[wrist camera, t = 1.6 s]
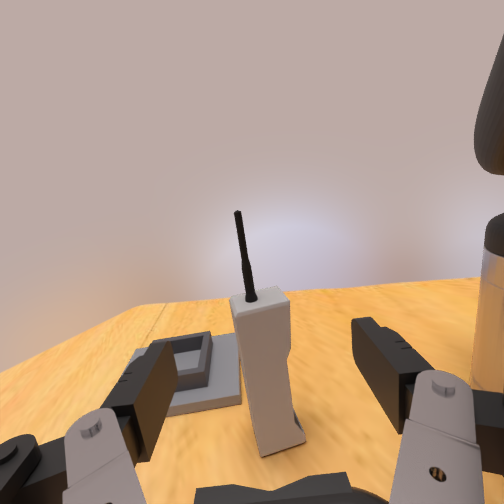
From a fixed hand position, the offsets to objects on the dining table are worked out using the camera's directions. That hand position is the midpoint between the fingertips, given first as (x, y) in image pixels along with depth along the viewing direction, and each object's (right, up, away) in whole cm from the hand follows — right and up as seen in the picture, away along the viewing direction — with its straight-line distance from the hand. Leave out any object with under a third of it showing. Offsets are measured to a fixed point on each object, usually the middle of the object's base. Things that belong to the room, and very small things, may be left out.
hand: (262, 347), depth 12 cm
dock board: (-11, -15, +29) cm, 34 cm away
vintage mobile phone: (+3, -16, +17) cm, 24 cm away
